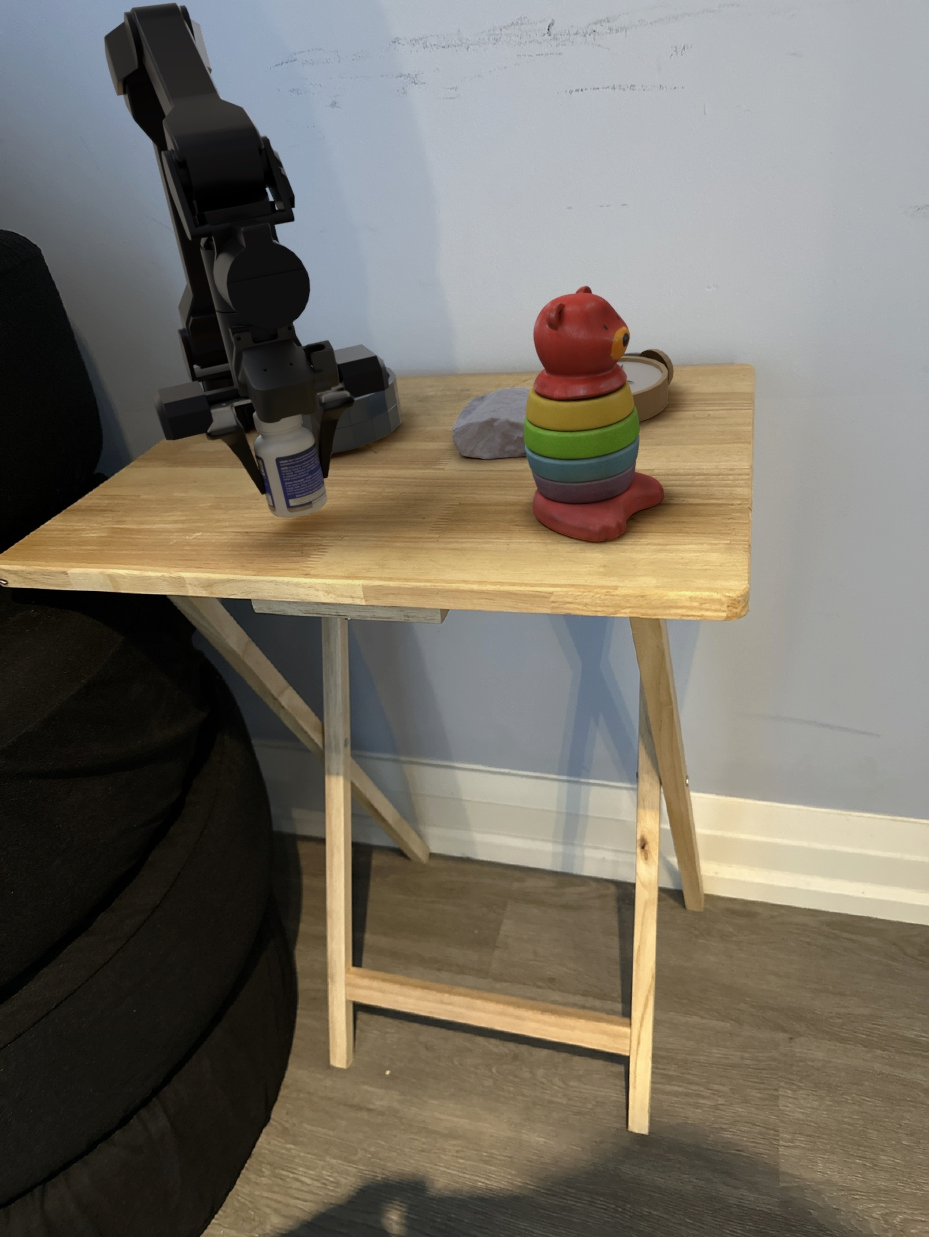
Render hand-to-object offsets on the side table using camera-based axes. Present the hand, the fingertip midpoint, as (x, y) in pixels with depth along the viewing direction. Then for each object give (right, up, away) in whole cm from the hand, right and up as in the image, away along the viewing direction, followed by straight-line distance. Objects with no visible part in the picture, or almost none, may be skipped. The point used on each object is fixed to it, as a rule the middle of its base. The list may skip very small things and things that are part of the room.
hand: (293, 485), depth 81 cm
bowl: (+1, +9, +21) cm, 23 cm away
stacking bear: (+26, -3, -2) cm, 26 cm away
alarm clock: (+32, +12, +19) cm, 39 cm away
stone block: (+19, +7, +14) cm, 25 cm away
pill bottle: (0, -2, +1) cm, 2 cm away
